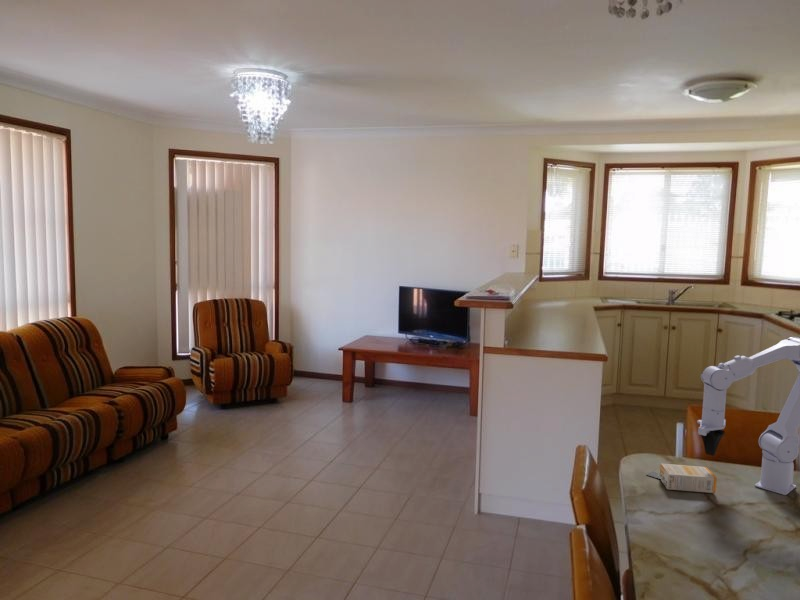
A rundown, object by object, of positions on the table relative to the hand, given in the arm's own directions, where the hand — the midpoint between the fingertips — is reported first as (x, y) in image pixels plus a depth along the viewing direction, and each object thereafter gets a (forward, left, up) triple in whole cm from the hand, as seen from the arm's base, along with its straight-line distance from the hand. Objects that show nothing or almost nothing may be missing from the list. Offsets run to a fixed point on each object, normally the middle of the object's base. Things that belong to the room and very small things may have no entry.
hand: (710, 454), depth 171 cm
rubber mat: (+1, -9, -9) cm, 13 cm away
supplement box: (+2, +2, -7) cm, 7 cm away
